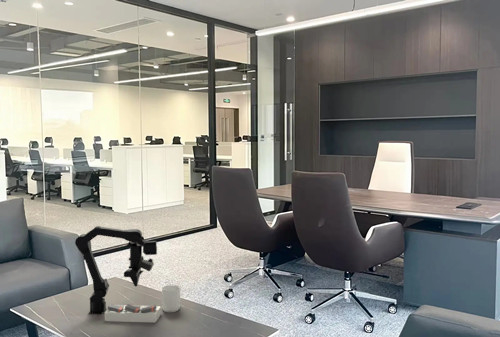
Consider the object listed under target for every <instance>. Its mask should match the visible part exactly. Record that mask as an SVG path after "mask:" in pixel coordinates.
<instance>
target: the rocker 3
mask: <svg viewBox="0 0 500 337" xmlns="http://www.w3.org/2000/svg"><path fill="white" fill-rule="evenodd" d="M148 306H149V307H145V308H142V309H141V313H147V312H152V311H155V310H156V306H157V305H156V304H154V305H148Z"/></svg>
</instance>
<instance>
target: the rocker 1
mask: <svg viewBox="0 0 500 337" xmlns="http://www.w3.org/2000/svg"><path fill="white" fill-rule="evenodd" d="M117 305H118V304H113V303H110V304H109V305H108V307H107V310H111V311H115V312H122V311H123V308H124V307H120V306H117Z"/></svg>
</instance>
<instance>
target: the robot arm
mask: <svg viewBox="0 0 500 337" xmlns="http://www.w3.org/2000/svg"><path fill="white" fill-rule="evenodd" d="M97 236H102V237H103V236H104V237H110V238H115V239H116V238H118V239H122V240H125V241H127V242H128V243H126V244H125V247H126V248H129V258H128V261H129V266H128V269H126V270H125V271H124V272H123V277H124V278H130V280H131V282H132V283H133V286H134V287H138V284H139V280H140V277H141V274H142V273H144V270H146V271H147V272H151V271H152V269H153V266H154V264H155V263H154V260H153V258H149V259H144V256H143V254H144V255H145V256H156V255H158V246H157V240H152V241H147V240H146V239H145V237H144V236H143V233H142V231H141V230H140V229H136V228H135V229H131V228H130V229H120V228H111V227H105V226H100V225H97V226H95V227H94V228H92V229H91V230H89V231H88V232H87V233H82V234H80V235H79V236H78V237H77V238H76V239H75V241H74V244H75V246H76V248H77V250H78V251H79V252H80V253H81V254H82V256H83V259H84V261H85V264H86V267H87V269H88V272H89V274H90V277H91V280H92V284H93V286H92V288H93V292H92V294H91V296H90V297H89V311H88V314H91V315H92V314H93V315H102V314H103V313H105V312H106V311H107V307H106V306H107V304H106V303H107V301H106V300H105V299H106V298H105V297H106V296H107V293H108V291H109V290H110V289H109V287H110V283H108V279H107V278H103V276H102V275H101V272H100V269H99V267H98V264H97V261H96V259H95V256H94V253H93V250H92V240H93V239H95V238H96V237H97Z"/></svg>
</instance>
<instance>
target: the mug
mask: <svg viewBox="0 0 500 337" xmlns="http://www.w3.org/2000/svg"><path fill="white" fill-rule="evenodd" d="M181 291H182V290H181V286H179V285H176V284H172V285H171V284H169V285H164V286H163V287H162V288H161V310H163V311H164V312H165V313H175V312H178V311H179V310H180V308H181V307H180V306H181V295H182V294H181Z"/></svg>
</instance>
